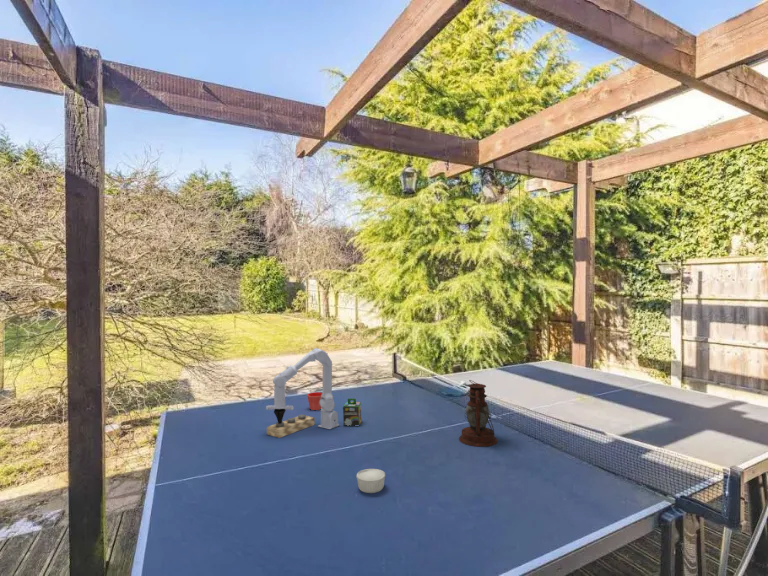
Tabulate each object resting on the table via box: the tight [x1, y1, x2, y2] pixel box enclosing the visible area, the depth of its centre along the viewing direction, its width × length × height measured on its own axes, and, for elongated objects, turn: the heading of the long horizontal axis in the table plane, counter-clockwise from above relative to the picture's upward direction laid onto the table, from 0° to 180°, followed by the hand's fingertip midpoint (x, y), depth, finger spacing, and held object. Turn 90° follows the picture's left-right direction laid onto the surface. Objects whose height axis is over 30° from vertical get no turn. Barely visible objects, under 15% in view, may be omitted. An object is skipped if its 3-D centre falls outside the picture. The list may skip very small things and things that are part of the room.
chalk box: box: [342, 398, 363, 427], centre depth 244 cm, size 9×9×15 cm
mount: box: [266, 415, 316, 439], centre depth 236 cm, size 26×10×4 cm, turn 145°
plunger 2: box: [287, 417, 295, 423], centre depth 236 cm, size 4×4×5 cm
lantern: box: [458, 379, 498, 448], centre depth 215 cm, size 19×19×30 cm
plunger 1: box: [275, 421, 284, 427], centre depth 230 cm, size 4×4×5 cm
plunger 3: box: [297, 414, 307, 419], centre depth 243 cm, size 4×4×5 cm
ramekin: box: [356, 468, 386, 494], centre depth 165 cm, size 11×11×5 cm
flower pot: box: [307, 391, 322, 411], centre depth 276 cm, size 11×11×10 cm
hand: (280, 423), depth 230 cm, fingers closed, pressing on plunger 1
